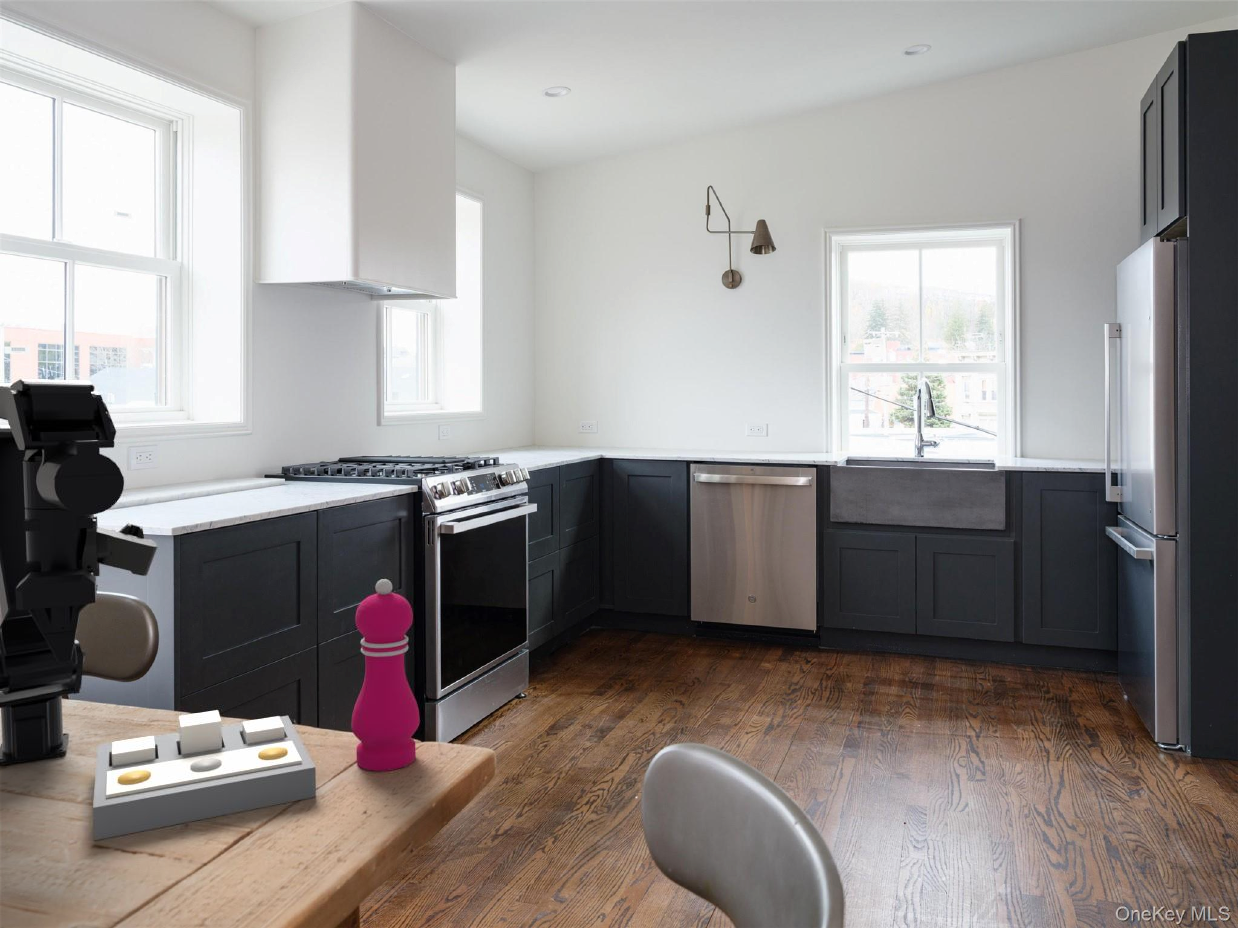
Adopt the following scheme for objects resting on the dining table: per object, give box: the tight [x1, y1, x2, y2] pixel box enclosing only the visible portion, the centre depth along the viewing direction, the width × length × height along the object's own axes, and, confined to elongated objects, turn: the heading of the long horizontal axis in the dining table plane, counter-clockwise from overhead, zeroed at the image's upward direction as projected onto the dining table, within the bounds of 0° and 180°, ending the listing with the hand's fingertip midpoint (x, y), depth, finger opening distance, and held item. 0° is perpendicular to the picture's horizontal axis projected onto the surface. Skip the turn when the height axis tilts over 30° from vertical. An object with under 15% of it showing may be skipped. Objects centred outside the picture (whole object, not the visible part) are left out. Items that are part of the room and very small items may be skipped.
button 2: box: [241, 715, 284, 744], centre depth 98 cm, size 4×4×3 cm
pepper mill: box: [350, 578, 421, 772], centre depth 98 cm, size 7×7×20 cm
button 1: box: [111, 735, 155, 766], centre depth 92 cm, size 4×4×3 cm
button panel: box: [92, 715, 317, 842], centre depth 92 cm, size 17×19×4 cm
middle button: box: [178, 709, 222, 755], centre depth 95 cm, size 4×4×3 cm
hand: (65, 661), depth 90 cm, fingers closed
